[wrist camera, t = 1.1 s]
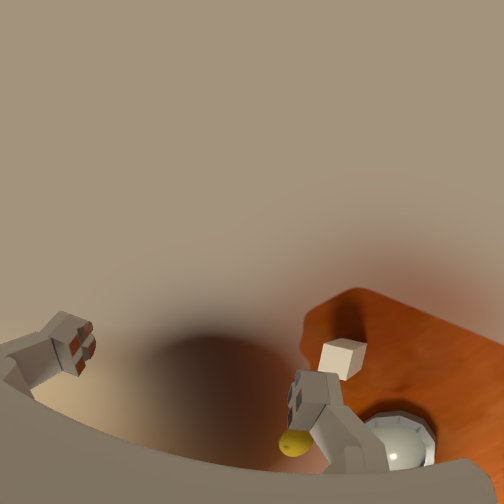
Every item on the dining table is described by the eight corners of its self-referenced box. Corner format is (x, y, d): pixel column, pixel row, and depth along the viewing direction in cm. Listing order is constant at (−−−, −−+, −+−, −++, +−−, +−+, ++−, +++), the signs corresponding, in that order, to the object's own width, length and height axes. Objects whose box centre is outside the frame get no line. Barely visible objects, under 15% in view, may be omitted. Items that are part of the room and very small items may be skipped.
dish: (436, 405, 35) (435, 410, 33) (432, 483, 31) (430, 491, 29) (345, 414, 44) (340, 419, 42) (348, 486, 40) (343, 492, 38)
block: (367, 343, 45) (352, 350, 38) (360, 369, 44) (345, 380, 38) (341, 337, 48) (323, 343, 41) (336, 363, 47) (317, 372, 41)
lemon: (289, 434, 49) (266, 449, 43) (302, 415, 49) (280, 429, 42) (310, 450, 46) (289, 468, 40) (325, 431, 45) (305, 448, 39)
